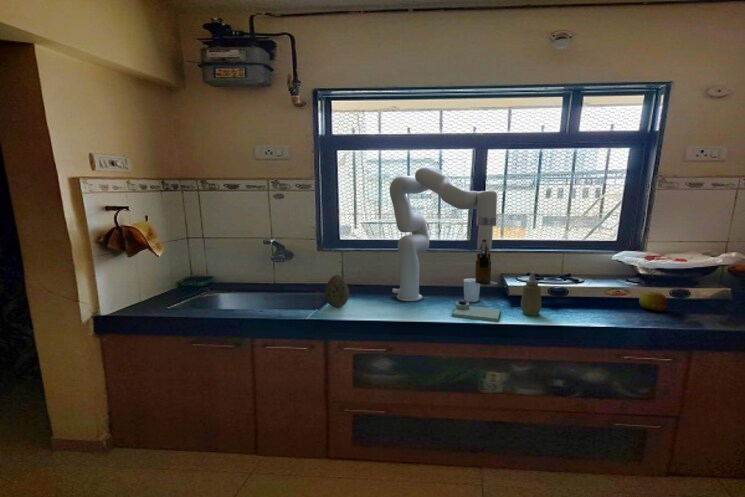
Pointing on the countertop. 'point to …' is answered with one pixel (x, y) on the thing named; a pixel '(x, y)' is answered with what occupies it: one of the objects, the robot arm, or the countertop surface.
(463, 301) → the tare button
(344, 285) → the decorative egg
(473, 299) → the white cup
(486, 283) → the condiment
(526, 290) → the squeeze bottle
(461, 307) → the scale
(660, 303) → the fruit
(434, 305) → the countertop surface
